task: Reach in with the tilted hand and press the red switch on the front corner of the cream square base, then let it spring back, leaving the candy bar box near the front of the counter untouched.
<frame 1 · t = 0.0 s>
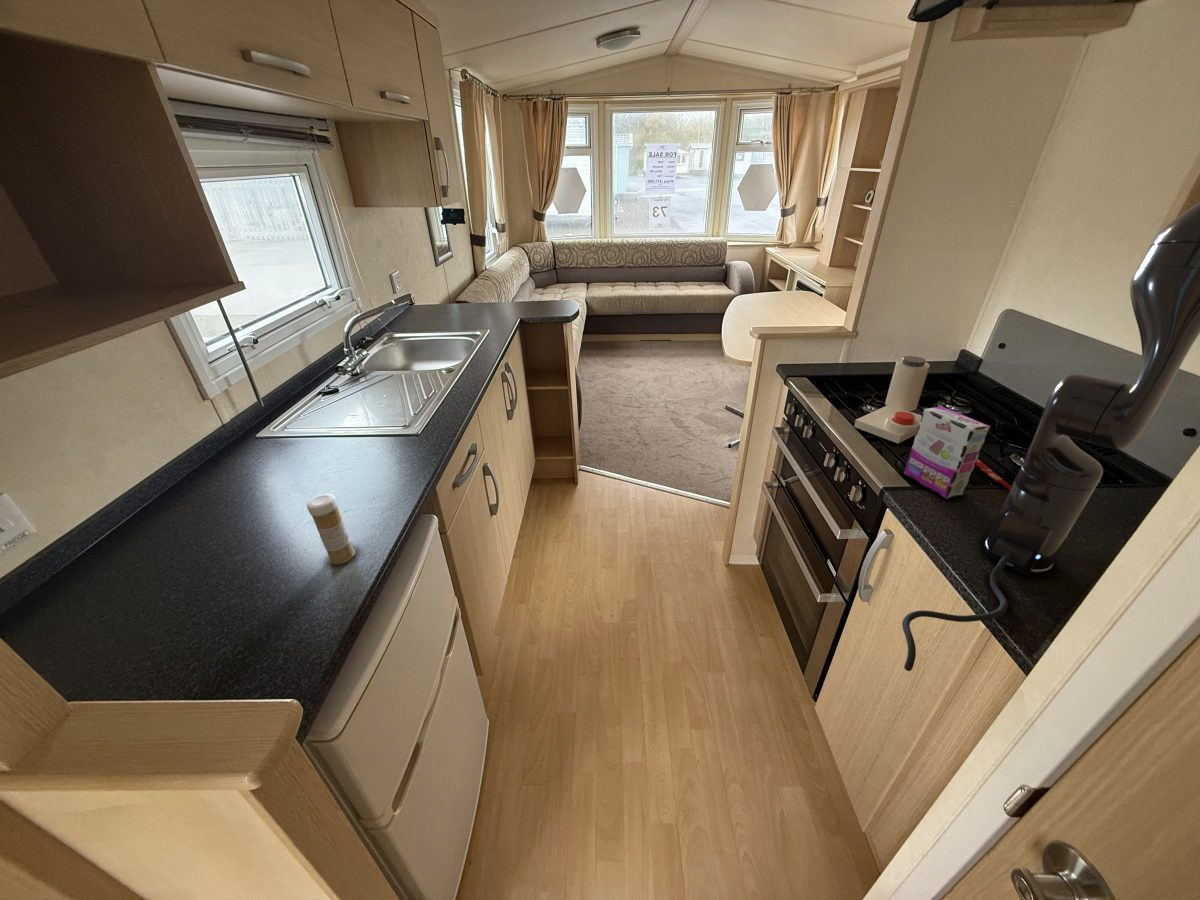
hand: (1177, 345, 91), 29 cm above the worktop, tool pointing down, fingers open, 8 cm apart
cream square base: (892, 426, 129), on the worktop
white canister: (896, 418, 134), resting on cream square base
sprinkles bottle: (343, 557, 92), on the worktop
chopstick: (987, 473, 108), on the worktop
candy bar box: (931, 484, 106), on the worktop
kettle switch: (903, 418, 123), point 5 cm above the worktop, slide at 0.1 cm
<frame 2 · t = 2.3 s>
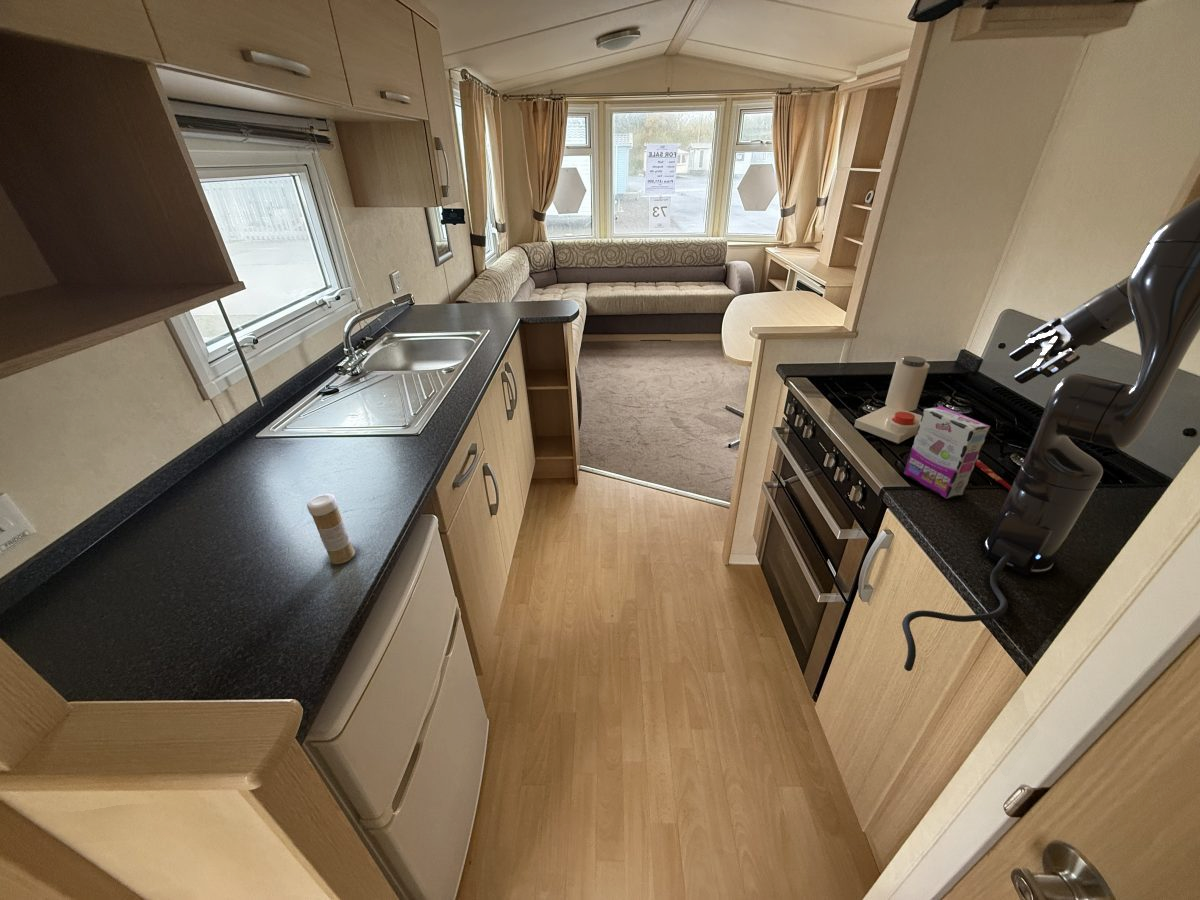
hand: (1014, 369, 104), 22 cm above the worktop, tool tilted 35°, fingers open, 8 cm apart
nothing on the worktop moved.
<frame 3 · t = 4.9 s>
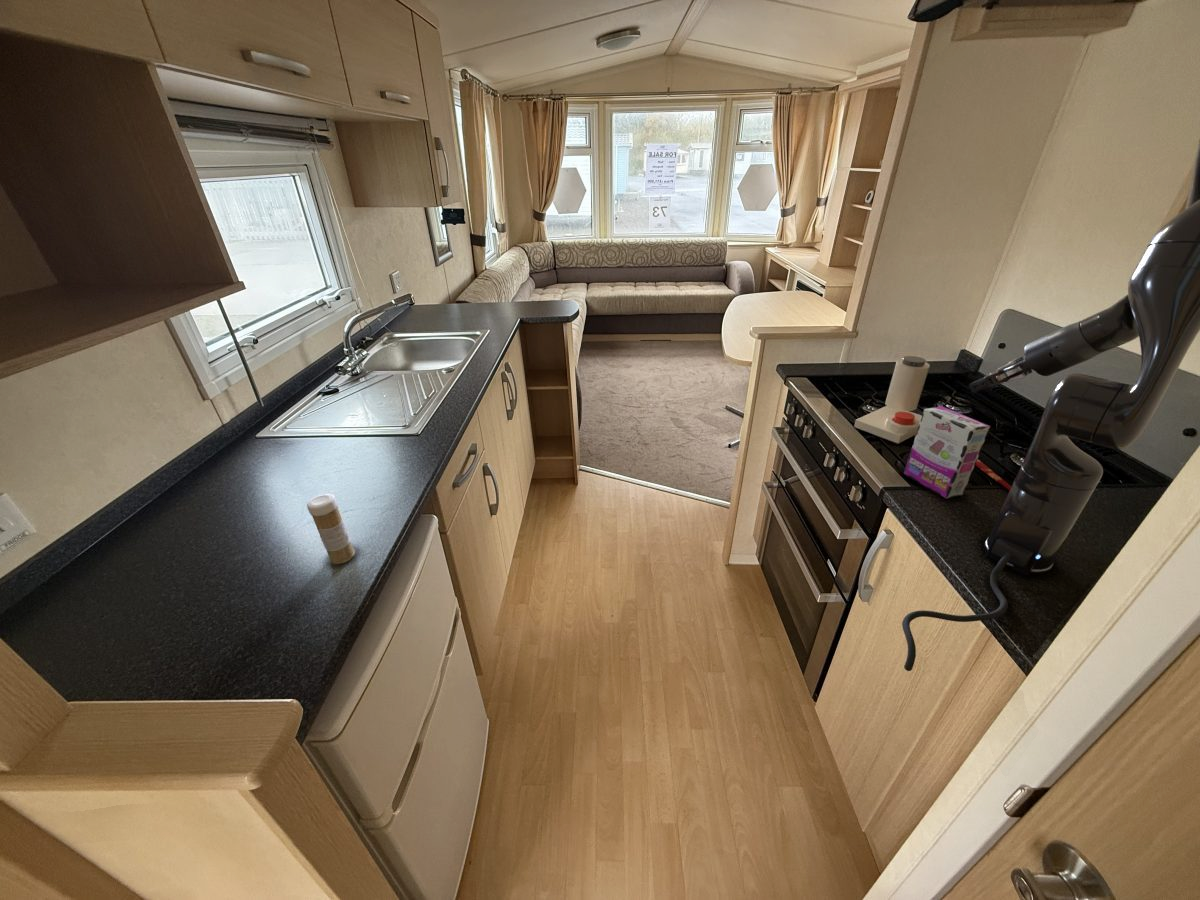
hand: (971, 388, 108), 17 cm above the worktop, tool tilted 45°, fingers closed
nothing on the worktop moved.
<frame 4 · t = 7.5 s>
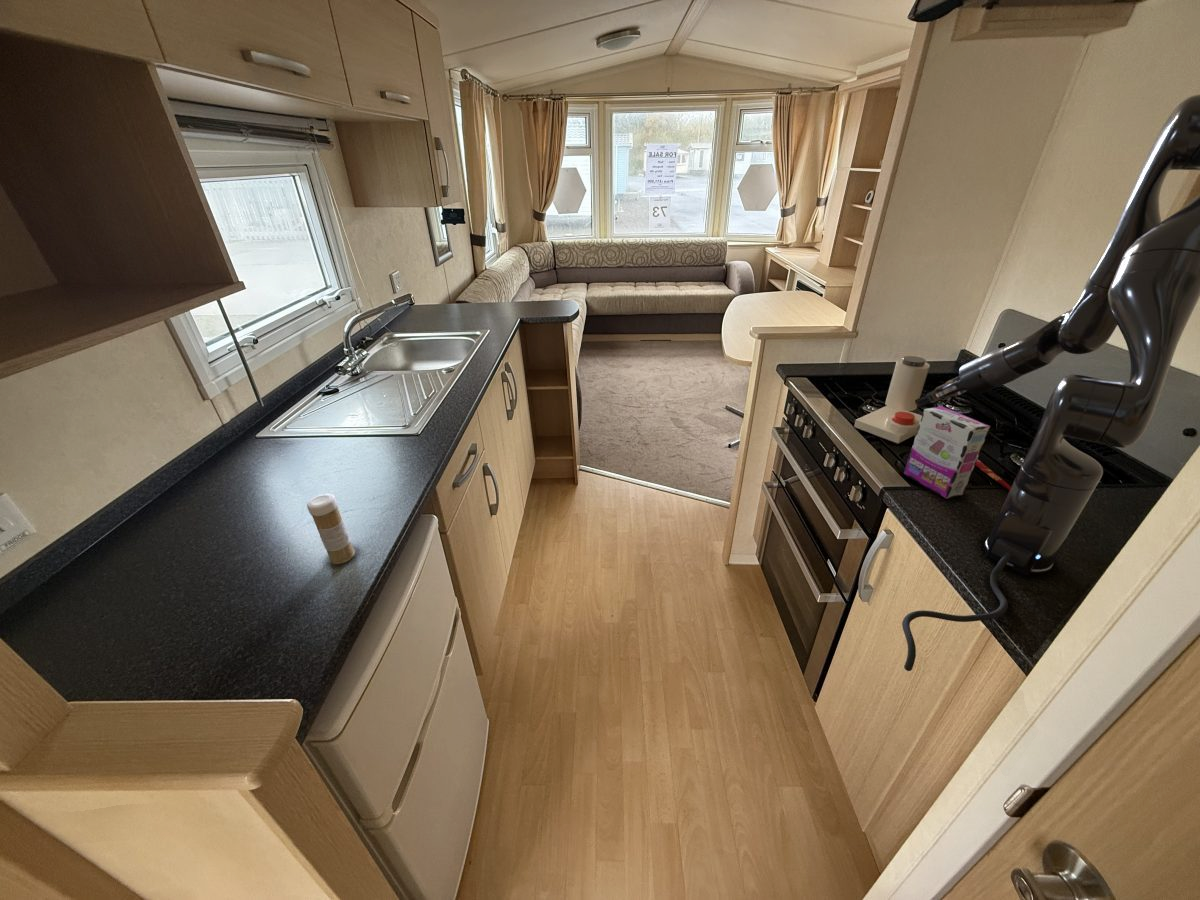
hand: (918, 403, 119), 9 cm above the worktop, tool tilted 45°, fingers closed
nothing on the worktop moved.
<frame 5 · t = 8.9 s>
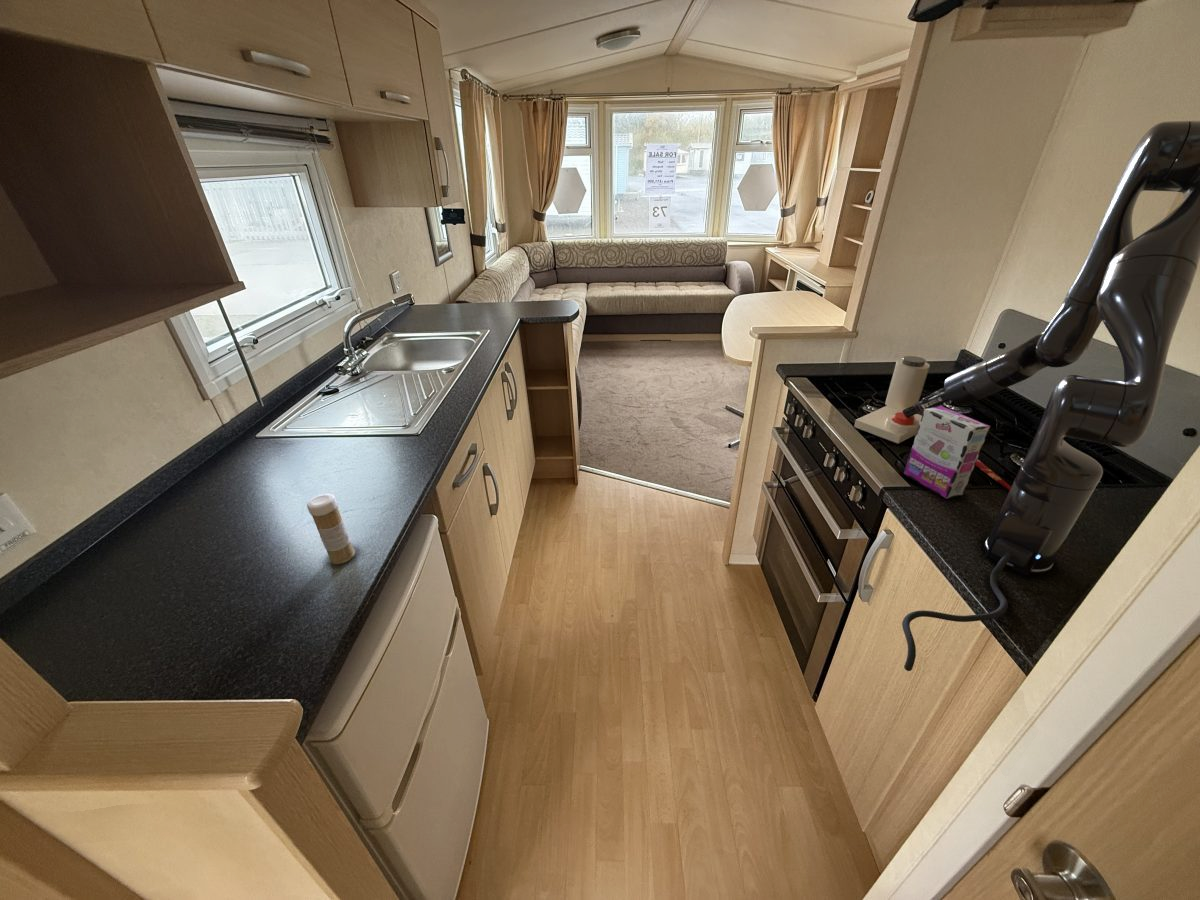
hand: (905, 413, 123), 6 cm above the worktop, tool tilted 45°, fingers closed
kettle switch: (903, 419, 123), point 4 cm above the worktop, slide at -0.1 cm, touching gripper
everything else where it was.
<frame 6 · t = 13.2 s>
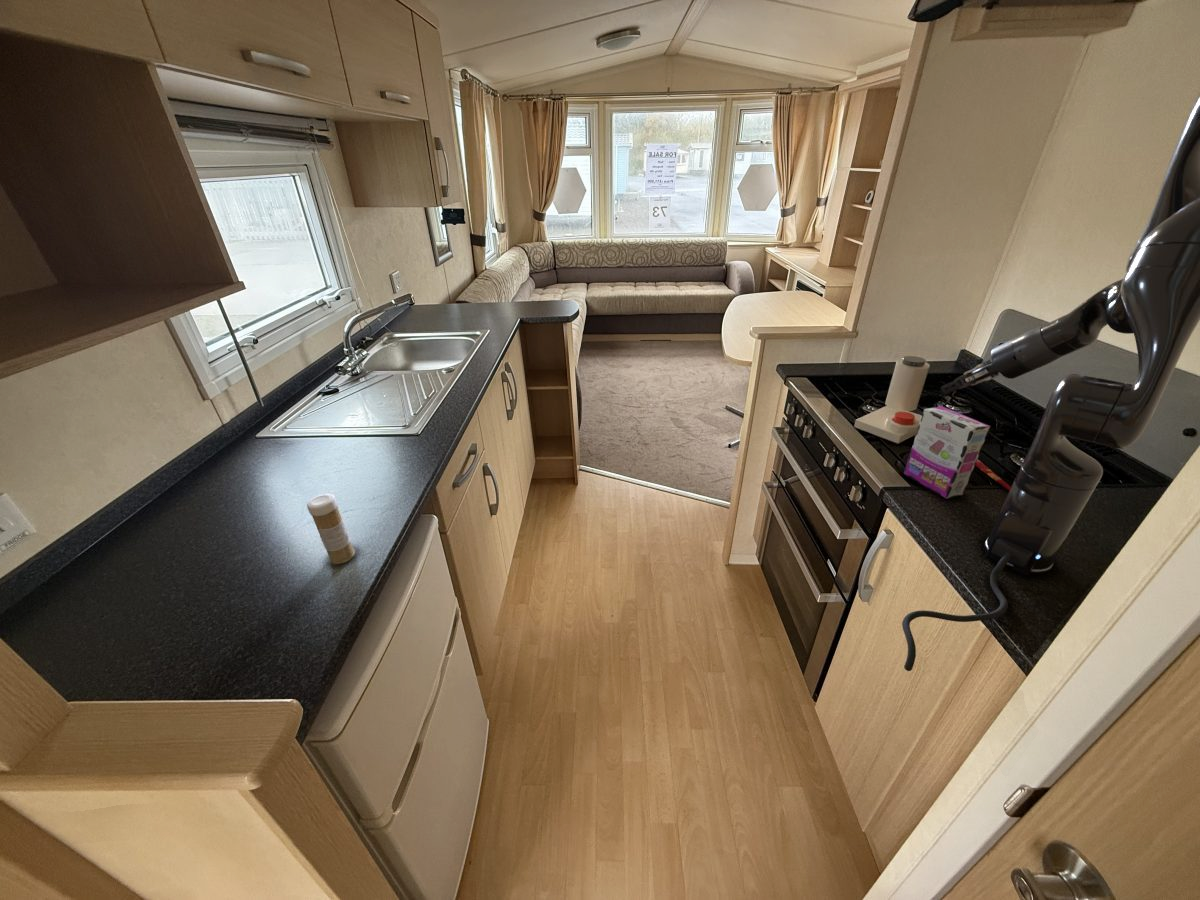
hand: (943, 390, 113), 15 cm above the worktop, tool tilted 45°, fingers closed
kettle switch: (903, 418, 123), point 5 cm above the worktop, slide at 0.1 cm
everything else where it was.
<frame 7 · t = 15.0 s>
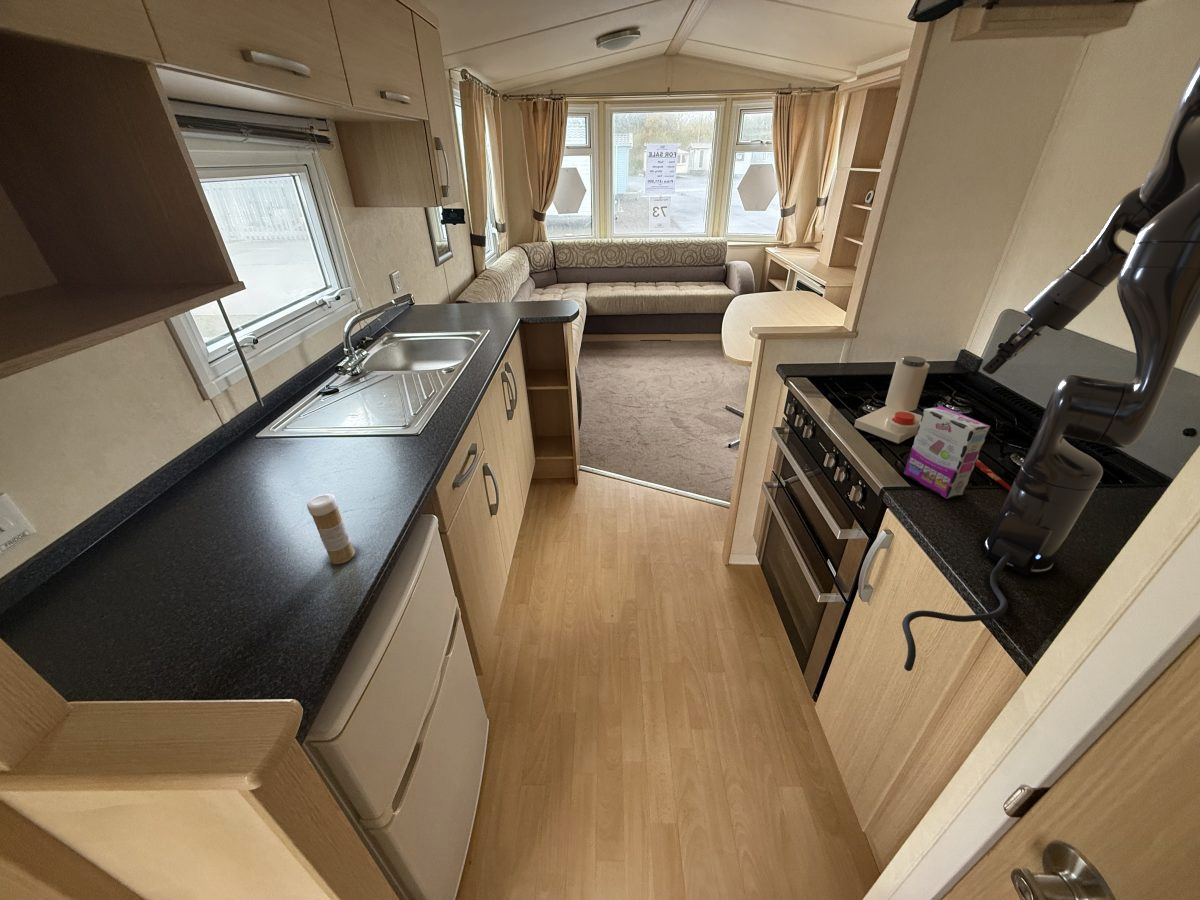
hand: (987, 371, 103), 22 cm above the worktop, tool tilted 25°, fingers closed
nothing on the worktop moved.
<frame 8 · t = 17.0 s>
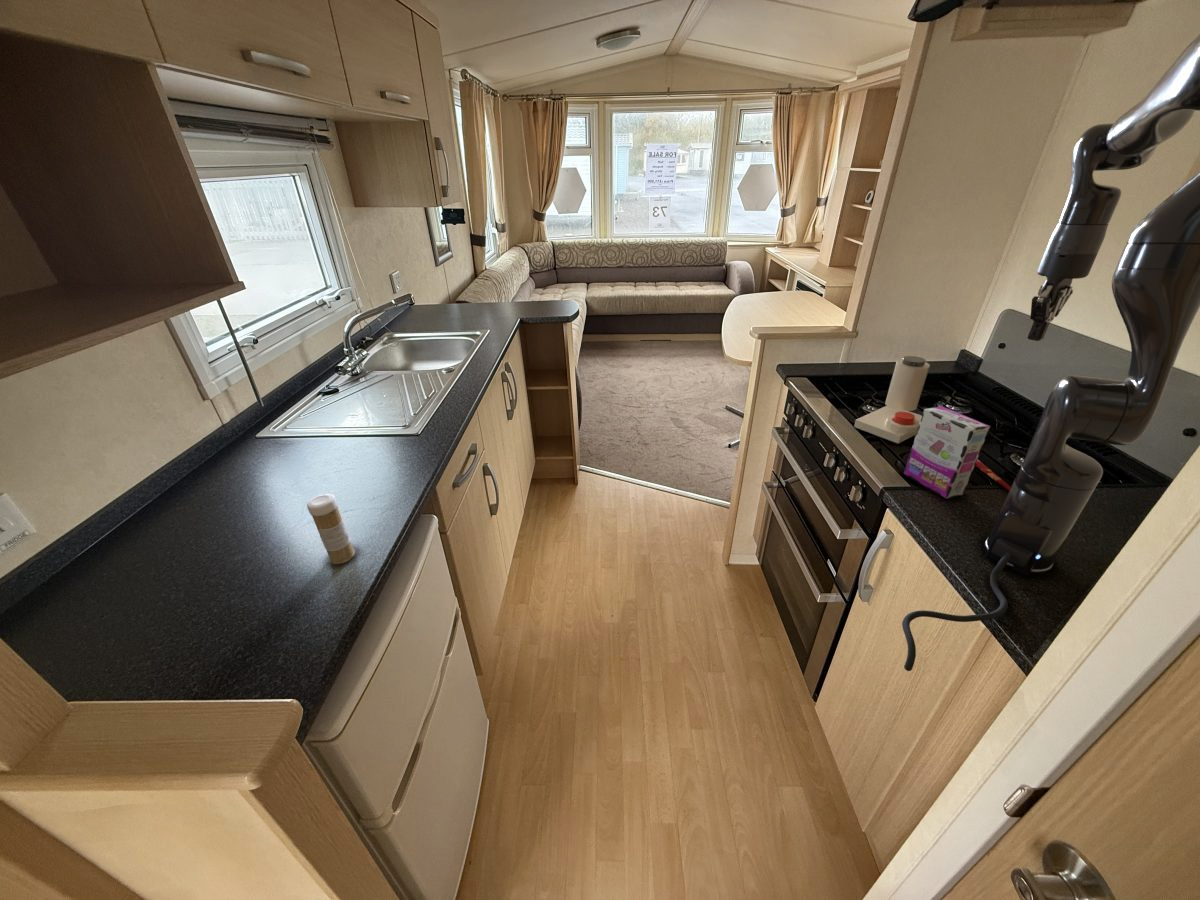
hand: (1034, 339, 99), 29 cm above the worktop, tool pointing down, fingers closed
nothing on the worktop moved.
at the end: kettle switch pushed in 1.3 cm at the most during the clip, back to where it started at the end; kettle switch slide at 0.1 cm; candy bar box moved 0.2 cm from its start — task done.
